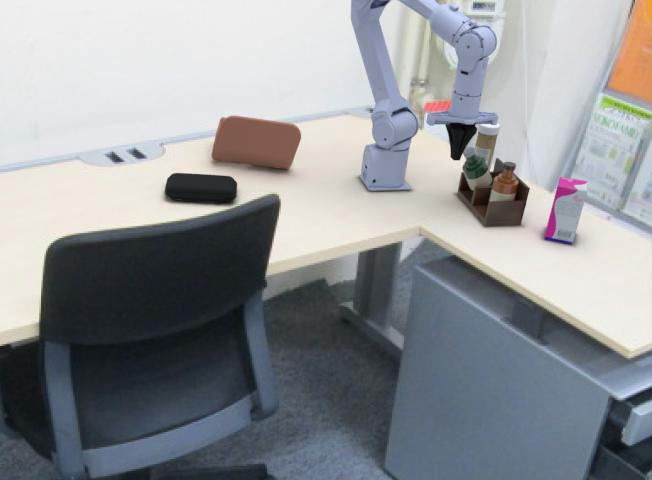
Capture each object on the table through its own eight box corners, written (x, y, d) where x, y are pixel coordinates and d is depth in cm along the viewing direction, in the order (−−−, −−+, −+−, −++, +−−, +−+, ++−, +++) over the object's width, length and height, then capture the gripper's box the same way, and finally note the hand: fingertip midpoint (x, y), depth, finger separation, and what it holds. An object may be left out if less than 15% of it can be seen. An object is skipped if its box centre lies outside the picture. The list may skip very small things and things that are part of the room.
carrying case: (237, 185, 191) (168, 181, 190) (237, 171, 189) (168, 167, 188) (236, 206, 182) (164, 202, 181) (236, 192, 180) (163, 188, 179)
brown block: (281, 191, 199) (304, 129, 190) (207, 167, 196) (227, 103, 187) (283, 164, 212) (304, 104, 203) (213, 140, 209) (232, 79, 200)
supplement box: (574, 233, 183) (589, 180, 176) (572, 245, 178) (587, 191, 172) (546, 227, 184) (560, 175, 177) (543, 239, 180) (557, 185, 173)
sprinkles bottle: (491, 183, 202) (504, 124, 194) (479, 187, 199) (492, 128, 191) (475, 176, 204) (487, 118, 196) (463, 180, 202) (475, 122, 194)
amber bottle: (492, 217, 183) (503, 168, 177) (482, 207, 187) (493, 159, 181) (514, 216, 185) (526, 168, 178) (505, 206, 188) (516, 159, 182)
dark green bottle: (477, 201, 190) (462, 161, 183) (468, 191, 194) (453, 152, 187) (499, 189, 189) (484, 148, 183) (489, 179, 193) (474, 139, 186)
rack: (485, 226, 183) (493, 188, 178) (456, 194, 195) (464, 158, 190) (520, 225, 184) (530, 188, 179) (490, 193, 197) (498, 157, 192)
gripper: (439, 98, 171) (428, 166, 179) (509, 98, 174) (495, 165, 182) (427, 87, 177) (417, 153, 185) (495, 87, 179) (482, 152, 188)
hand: (455, 158), depth 184 cm, fingers closed
